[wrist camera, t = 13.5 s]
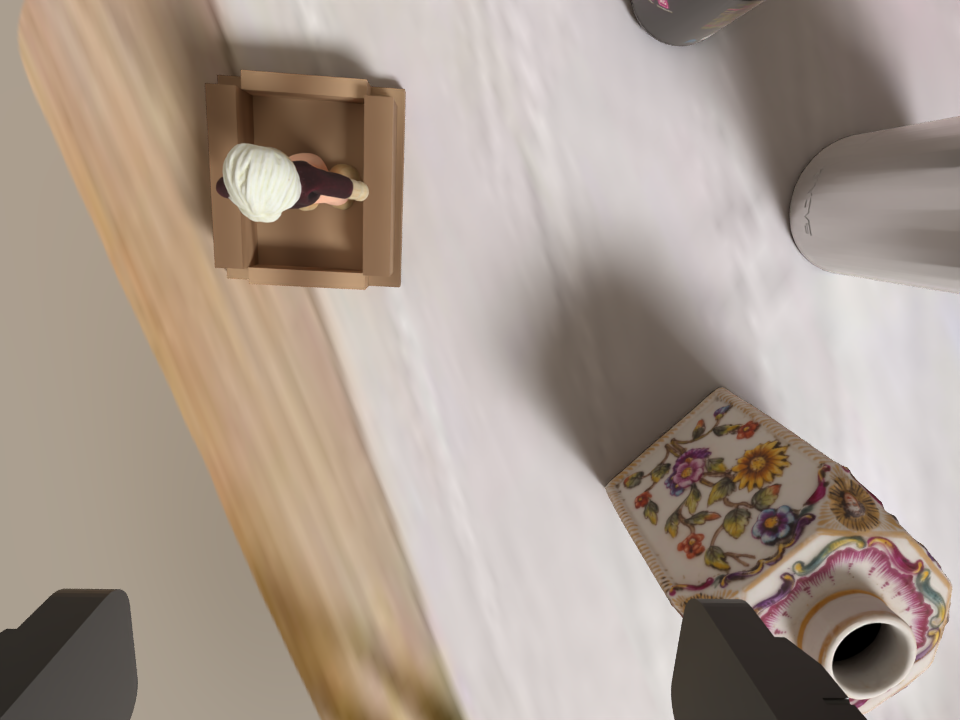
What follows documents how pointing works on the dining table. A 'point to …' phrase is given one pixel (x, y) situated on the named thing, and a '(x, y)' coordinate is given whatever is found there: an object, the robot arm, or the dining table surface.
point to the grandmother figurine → (285, 182)
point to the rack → (336, 140)
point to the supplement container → (688, 18)
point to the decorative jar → (785, 545)
